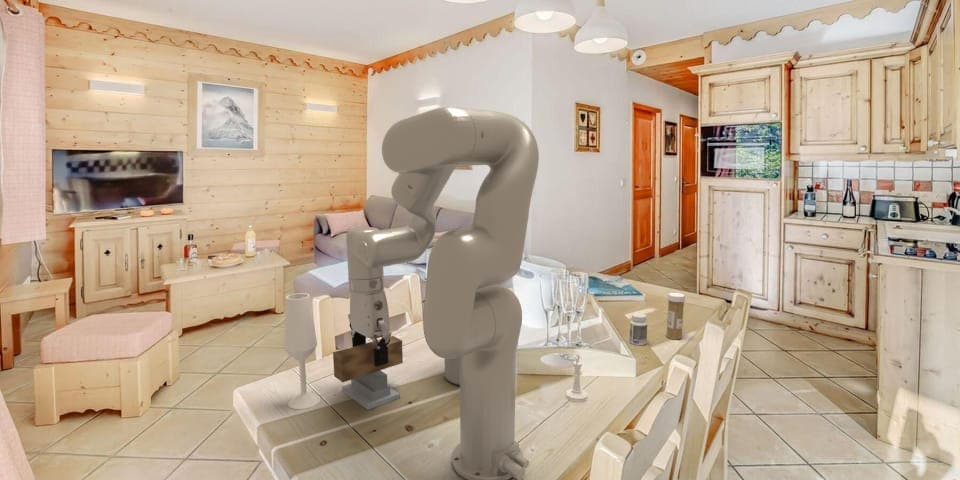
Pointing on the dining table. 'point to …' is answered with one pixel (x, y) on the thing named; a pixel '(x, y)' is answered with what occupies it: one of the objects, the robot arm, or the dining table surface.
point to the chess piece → (576, 384)
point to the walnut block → (364, 360)
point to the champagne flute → (300, 342)
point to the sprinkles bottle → (675, 315)
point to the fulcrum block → (371, 390)
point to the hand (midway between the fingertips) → (370, 358)
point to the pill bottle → (638, 329)
